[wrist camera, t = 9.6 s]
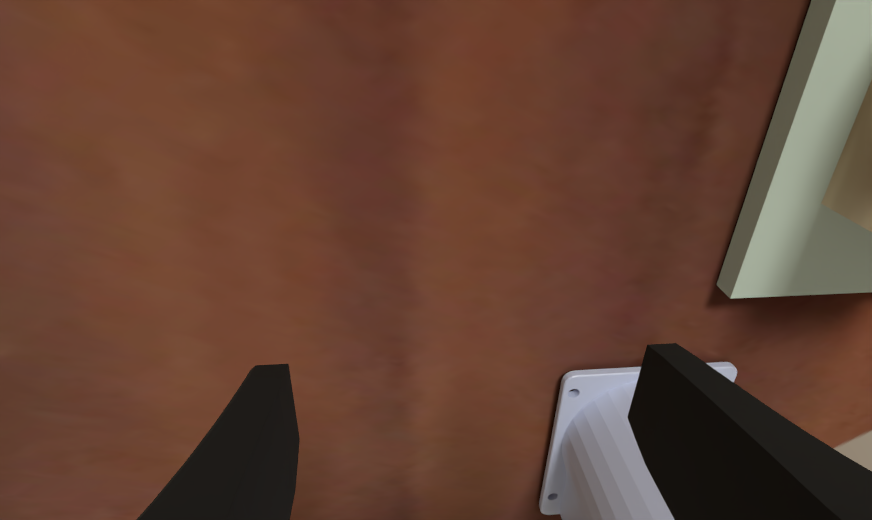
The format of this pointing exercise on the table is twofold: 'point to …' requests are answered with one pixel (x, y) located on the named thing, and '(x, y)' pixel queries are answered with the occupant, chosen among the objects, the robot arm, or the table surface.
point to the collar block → (855, 171)
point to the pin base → (807, 169)
